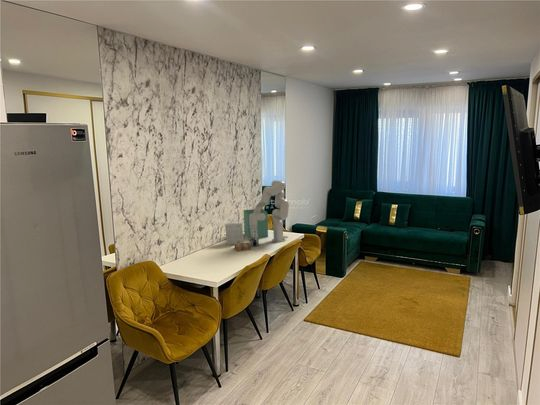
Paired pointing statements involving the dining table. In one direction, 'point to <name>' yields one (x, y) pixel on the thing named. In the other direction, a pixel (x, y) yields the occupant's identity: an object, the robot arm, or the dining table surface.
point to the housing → (252, 242)
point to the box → (261, 225)
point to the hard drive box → (234, 233)
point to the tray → (242, 246)
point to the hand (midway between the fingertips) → (254, 244)
